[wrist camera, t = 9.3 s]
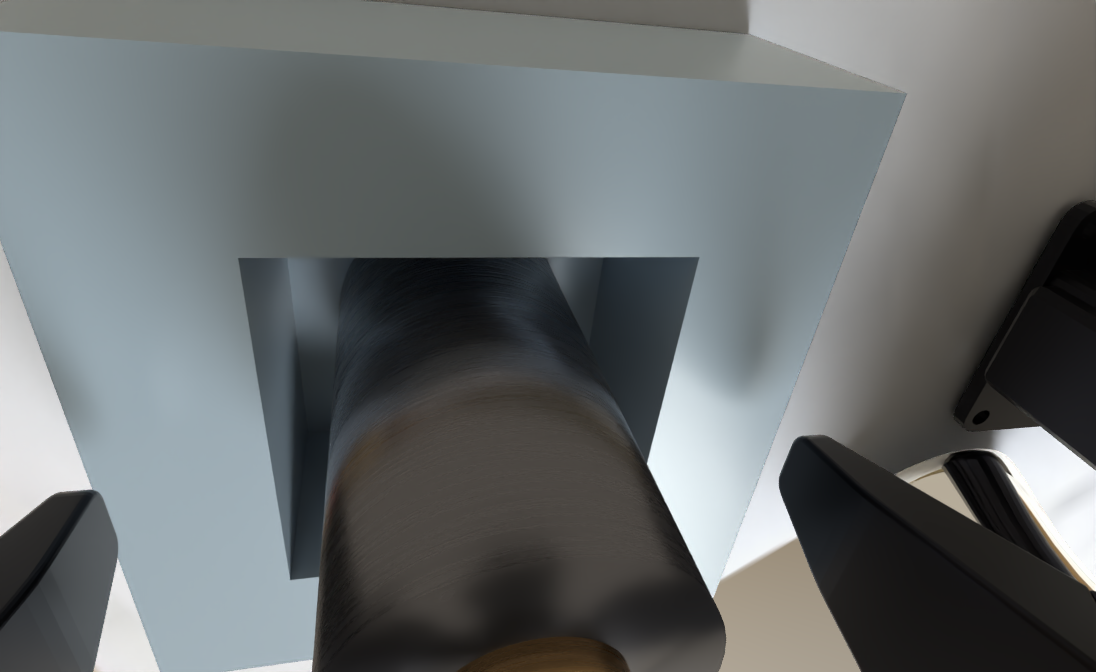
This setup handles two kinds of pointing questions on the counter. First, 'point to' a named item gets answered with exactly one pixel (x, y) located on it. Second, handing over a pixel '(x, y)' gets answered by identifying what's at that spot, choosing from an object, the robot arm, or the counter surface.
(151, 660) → the counter surface
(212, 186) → the box
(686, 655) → the cell
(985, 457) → the shiny silver cylinder
